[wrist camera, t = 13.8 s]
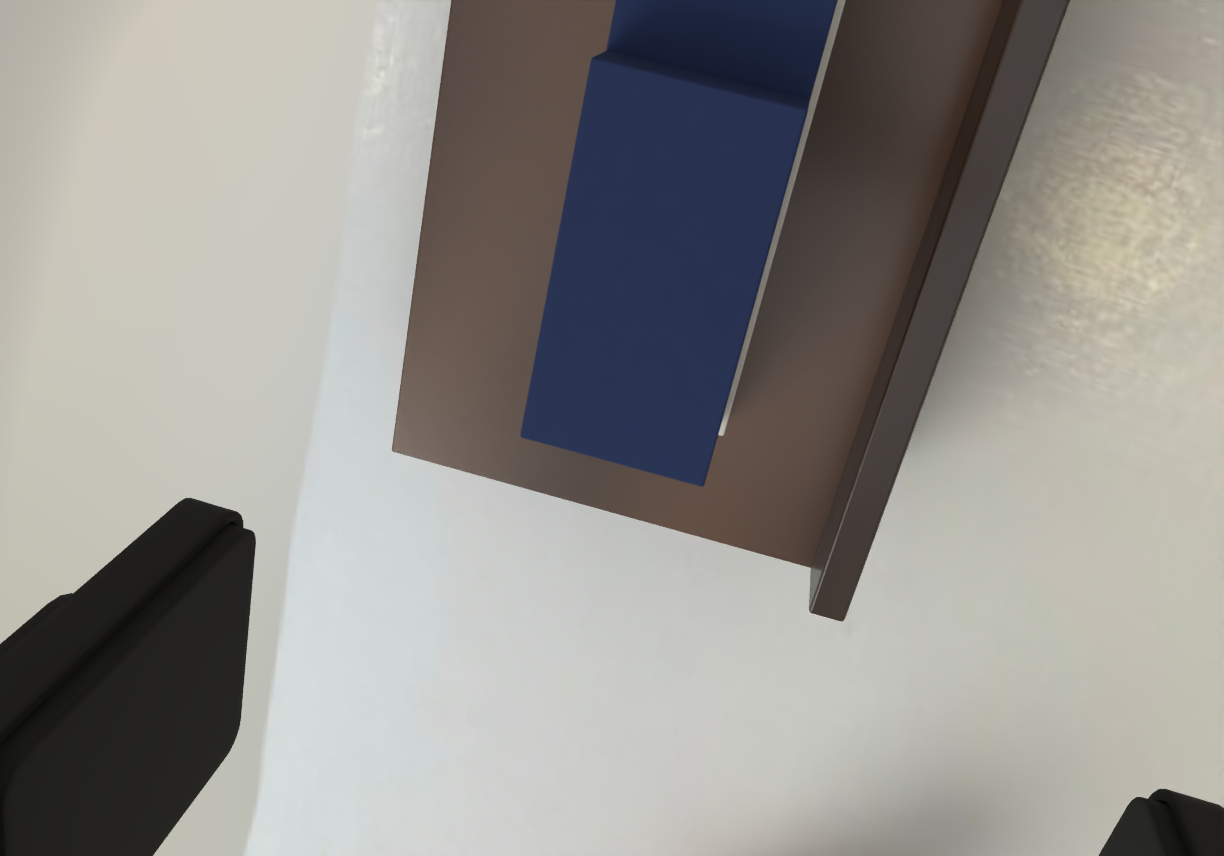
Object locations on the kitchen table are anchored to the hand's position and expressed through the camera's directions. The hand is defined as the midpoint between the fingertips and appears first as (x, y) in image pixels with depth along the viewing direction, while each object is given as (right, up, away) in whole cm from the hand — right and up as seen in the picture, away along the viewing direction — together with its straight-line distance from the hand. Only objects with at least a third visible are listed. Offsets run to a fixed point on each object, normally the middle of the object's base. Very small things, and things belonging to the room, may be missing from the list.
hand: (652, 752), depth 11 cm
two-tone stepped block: (+2, +10, +17) cm, 19 cm away
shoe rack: (+3, +12, +22) cm, 26 cm away
